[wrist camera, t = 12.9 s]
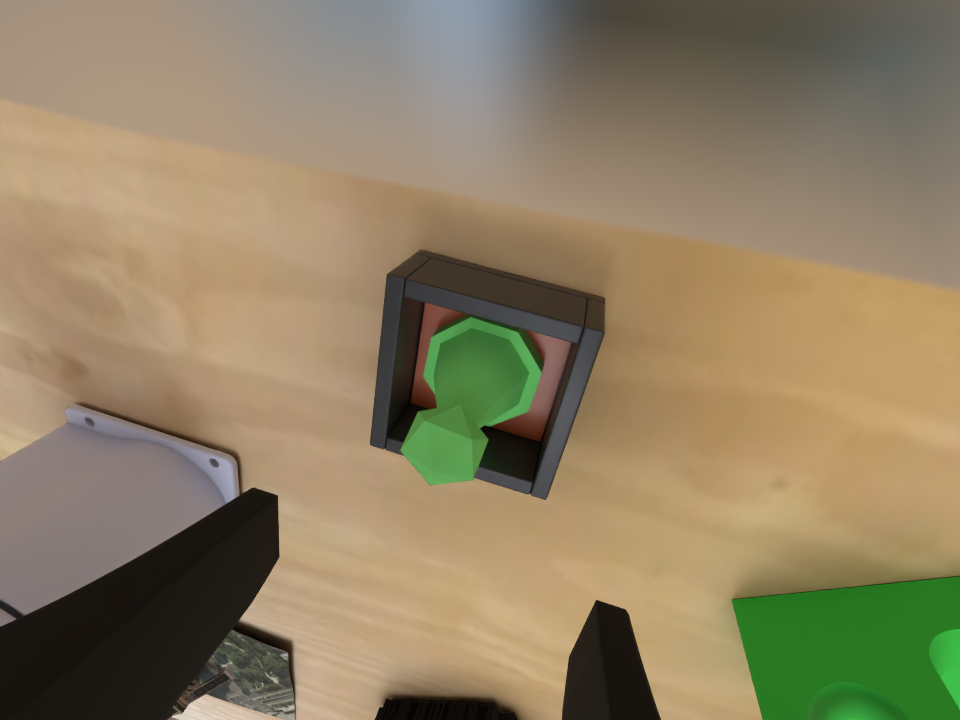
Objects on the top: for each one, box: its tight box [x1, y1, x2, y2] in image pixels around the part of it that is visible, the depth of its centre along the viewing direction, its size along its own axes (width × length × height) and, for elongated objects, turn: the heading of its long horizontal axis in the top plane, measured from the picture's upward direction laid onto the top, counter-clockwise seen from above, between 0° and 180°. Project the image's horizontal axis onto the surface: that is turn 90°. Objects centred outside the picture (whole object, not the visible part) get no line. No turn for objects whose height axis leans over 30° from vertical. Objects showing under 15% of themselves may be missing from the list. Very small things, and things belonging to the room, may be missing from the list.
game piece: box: [400, 314, 544, 485], centre depth 15 cm, size 4×4×6 cm
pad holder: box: [370, 250, 605, 500], centre depth 17 cm, size 7×7×3 cm
